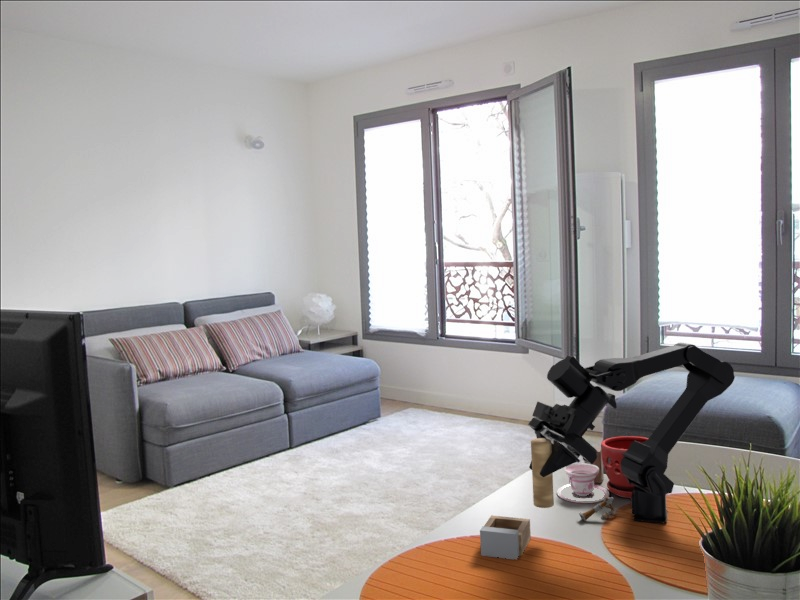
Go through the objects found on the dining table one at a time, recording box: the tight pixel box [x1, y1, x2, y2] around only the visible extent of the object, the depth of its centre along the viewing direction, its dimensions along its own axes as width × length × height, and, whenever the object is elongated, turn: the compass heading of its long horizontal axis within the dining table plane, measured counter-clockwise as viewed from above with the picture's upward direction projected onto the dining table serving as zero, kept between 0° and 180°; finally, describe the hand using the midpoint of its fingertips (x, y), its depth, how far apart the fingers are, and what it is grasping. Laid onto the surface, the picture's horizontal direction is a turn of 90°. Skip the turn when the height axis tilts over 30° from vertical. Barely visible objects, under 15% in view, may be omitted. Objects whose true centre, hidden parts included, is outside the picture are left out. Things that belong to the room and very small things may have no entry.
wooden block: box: [583, 446, 605, 484], centre depth 169 cm, size 4×4×8 cm
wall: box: [479, 525, 520, 561], centre depth 132 cm, size 7×2×5 cm, turn 67°
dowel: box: [530, 437, 555, 509], centre depth 138 cm, size 4×4×13 cm
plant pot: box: [600, 435, 649, 499], centre depth 160 cm, size 13×13×12 cm
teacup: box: [556, 462, 611, 504], centre depth 161 cm, size 12×12×6 cm
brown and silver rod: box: [578, 496, 618, 523], centre depth 146 cm, size 2×8×4 cm, turn 100°
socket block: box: [483, 514, 532, 556], centre depth 136 cm, size 8×8×4 cm
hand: (536, 472), depth 138 cm, fingers closed on dowel, 4 cm apart
